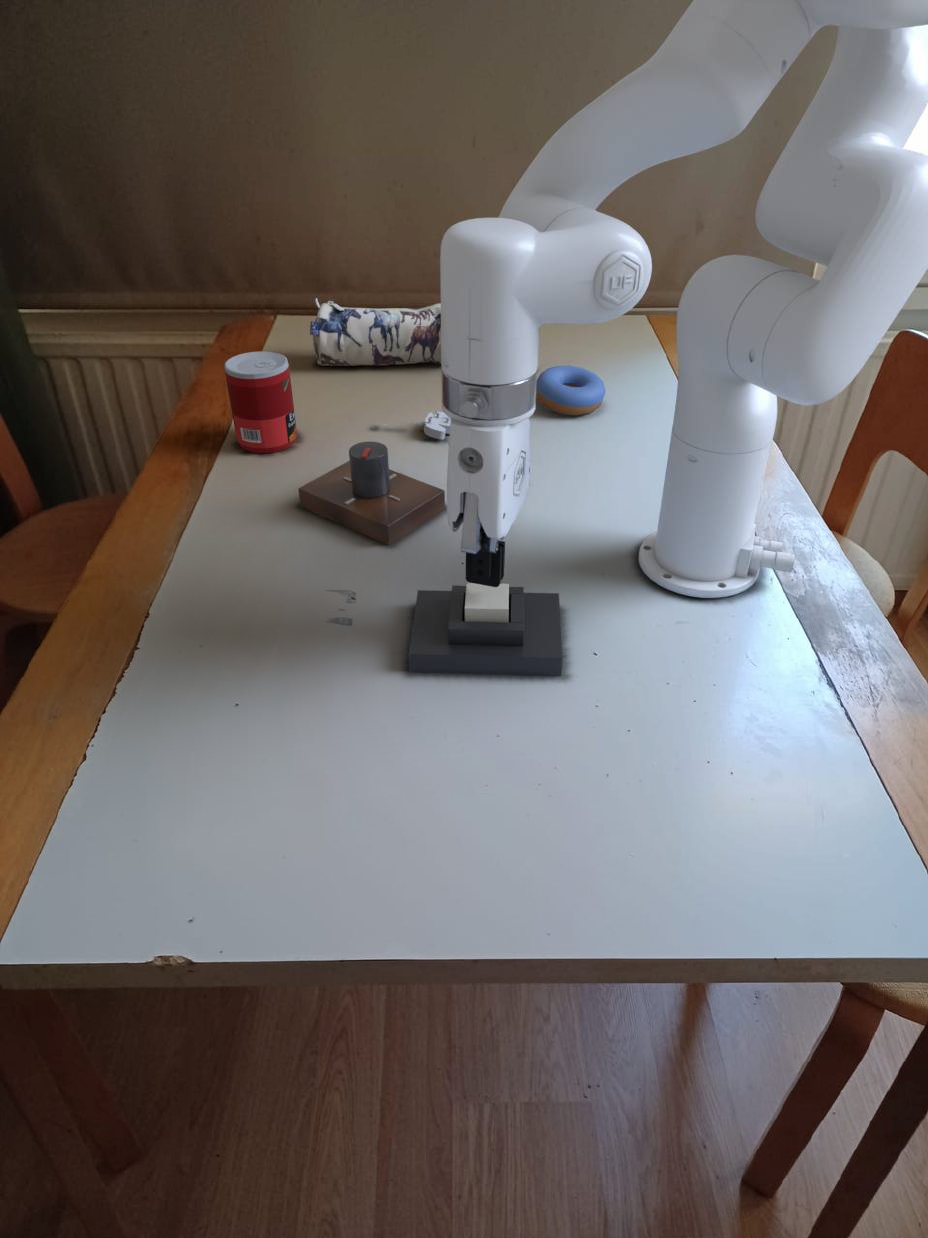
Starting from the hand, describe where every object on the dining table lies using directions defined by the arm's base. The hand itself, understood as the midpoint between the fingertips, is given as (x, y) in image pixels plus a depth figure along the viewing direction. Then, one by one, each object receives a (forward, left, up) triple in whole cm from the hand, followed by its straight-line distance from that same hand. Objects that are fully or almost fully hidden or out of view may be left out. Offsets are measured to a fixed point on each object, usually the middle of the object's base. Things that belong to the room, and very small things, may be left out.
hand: (484, 579), depth 83 cm
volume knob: (+20, -20, -5) cm, 29 cm away
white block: (0, 0, -4) cm, 4 cm away
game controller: (+22, -41, -7) cm, 47 cm away
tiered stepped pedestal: (0, 0, -7) cm, 7 cm away
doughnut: (+4, -55, -7) cm, 56 cm away
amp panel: (+20, -20, -7) cm, 29 cm away
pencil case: (+35, -62, -7) cm, 72 cm away
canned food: (+40, -32, -7) cm, 52 cm away
